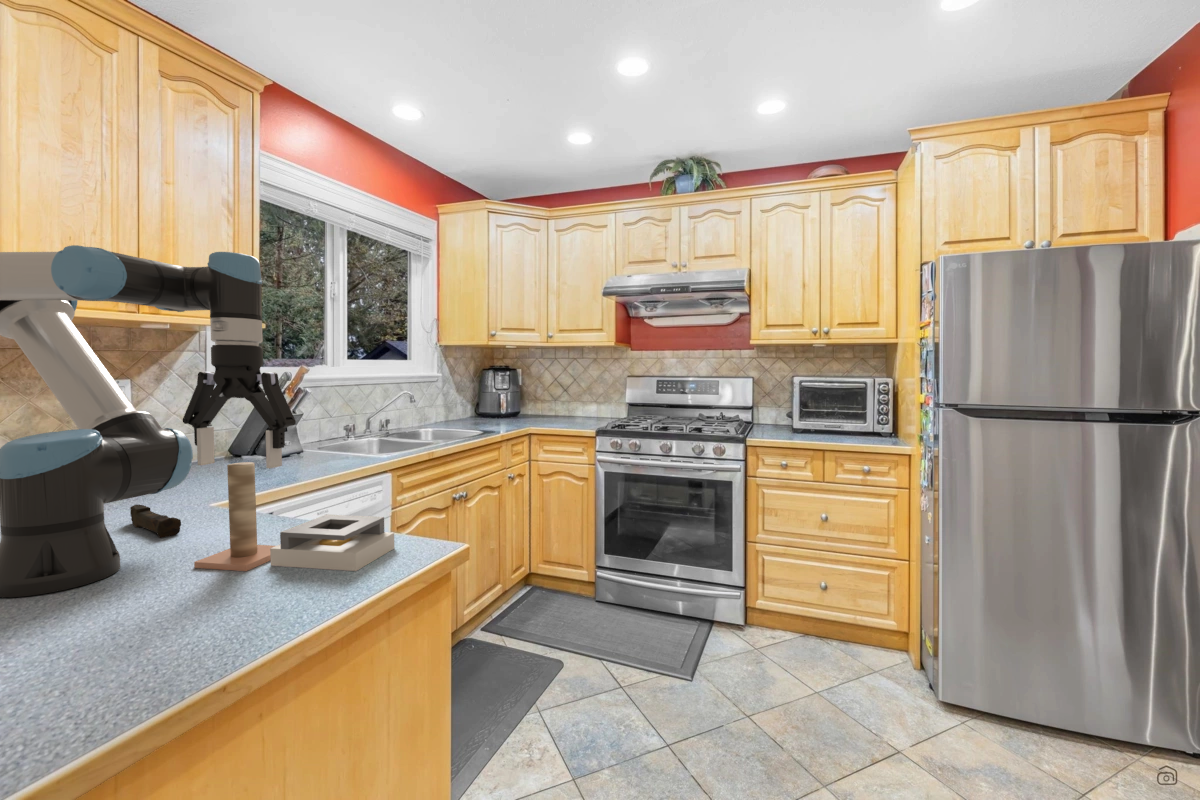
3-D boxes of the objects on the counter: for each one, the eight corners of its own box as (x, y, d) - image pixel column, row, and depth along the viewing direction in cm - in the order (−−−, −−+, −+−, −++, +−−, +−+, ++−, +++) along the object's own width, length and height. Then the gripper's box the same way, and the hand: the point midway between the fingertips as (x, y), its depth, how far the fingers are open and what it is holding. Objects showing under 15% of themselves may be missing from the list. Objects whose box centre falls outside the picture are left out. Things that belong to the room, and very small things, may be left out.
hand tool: (182, 535, 112) (181, 513, 112) (158, 540, 108) (157, 517, 108) (149, 521, 122) (148, 501, 122) (126, 525, 119) (125, 504, 119)
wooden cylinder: (224, 556, 95) (221, 465, 94) (243, 549, 99) (240, 462, 98) (245, 558, 94) (241, 466, 93) (262, 550, 98) (260, 462, 97)
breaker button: (313, 560, 96) (313, 543, 96) (331, 551, 101) (331, 535, 101) (339, 561, 95) (338, 544, 95) (356, 552, 100) (356, 536, 100)
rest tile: (194, 567, 92) (194, 561, 92) (242, 549, 102) (242, 543, 102) (246, 571, 91) (246, 565, 90) (289, 551, 100) (289, 546, 100)
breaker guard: (270, 565, 93) (269, 531, 93) (317, 544, 105) (317, 513, 105) (356, 571, 91) (355, 536, 90) (394, 548, 102) (393, 517, 102)
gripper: (154, 343, 93) (158, 466, 94) (285, 343, 89) (287, 472, 90) (194, 345, 100) (197, 459, 101) (316, 345, 96) (318, 464, 97)
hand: (239, 465), depth 96 cm, fingers open, 13 cm apart
